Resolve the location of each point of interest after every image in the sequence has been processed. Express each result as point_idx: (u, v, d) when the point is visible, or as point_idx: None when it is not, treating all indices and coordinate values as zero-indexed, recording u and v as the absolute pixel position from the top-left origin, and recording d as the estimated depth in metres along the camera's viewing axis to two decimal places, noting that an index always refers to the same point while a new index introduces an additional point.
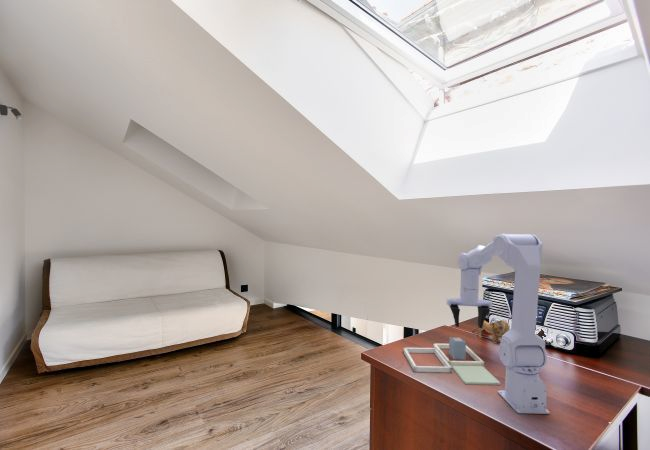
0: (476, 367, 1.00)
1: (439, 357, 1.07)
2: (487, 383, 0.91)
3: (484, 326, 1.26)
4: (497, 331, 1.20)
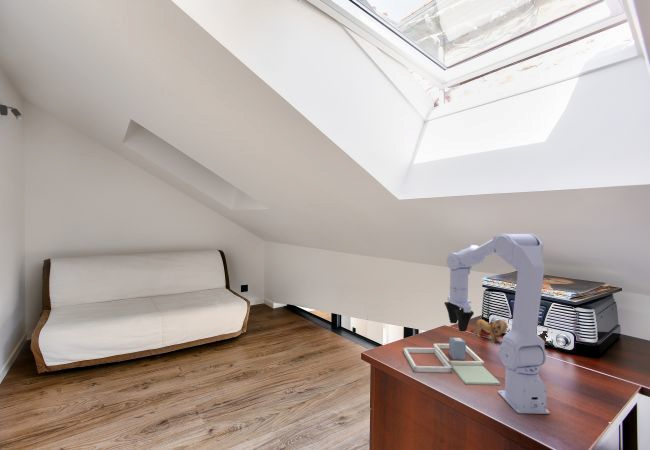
0: (476, 367, 1.00)
1: (439, 357, 1.07)
2: (487, 383, 0.91)
3: (482, 325, 1.26)
4: (496, 330, 1.21)
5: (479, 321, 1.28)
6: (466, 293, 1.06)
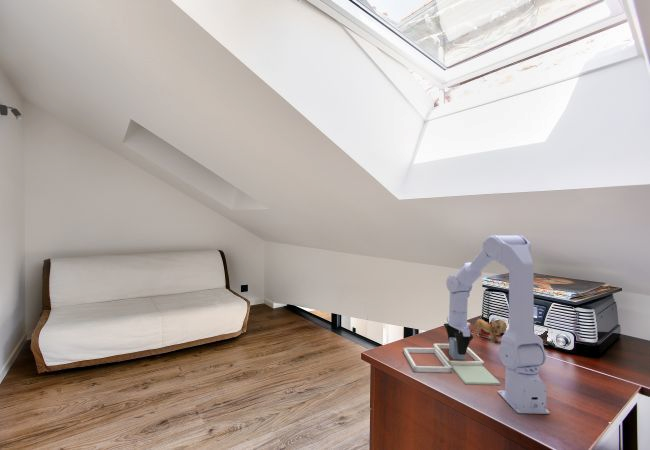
0: (476, 367, 1.00)
1: (439, 357, 1.07)
2: (487, 383, 0.91)
3: (482, 325, 1.27)
4: (495, 330, 1.21)
5: (478, 321, 1.28)
6: (465, 316, 1.06)
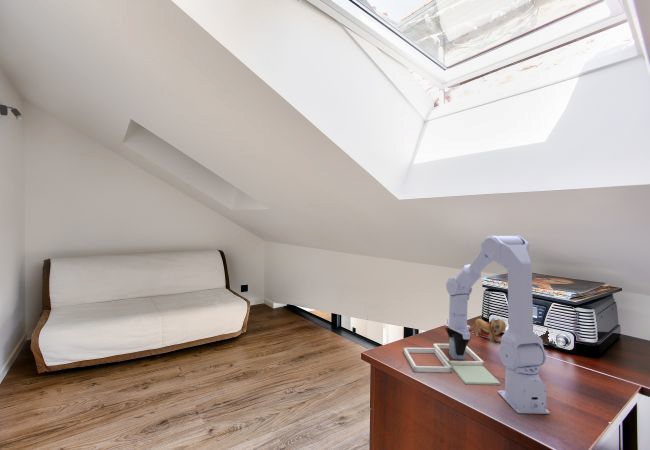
0: (476, 367, 1.00)
1: (439, 357, 1.07)
2: (487, 383, 0.91)
3: (481, 325, 1.27)
4: (494, 330, 1.21)
5: (478, 321, 1.29)
6: (465, 319, 1.06)
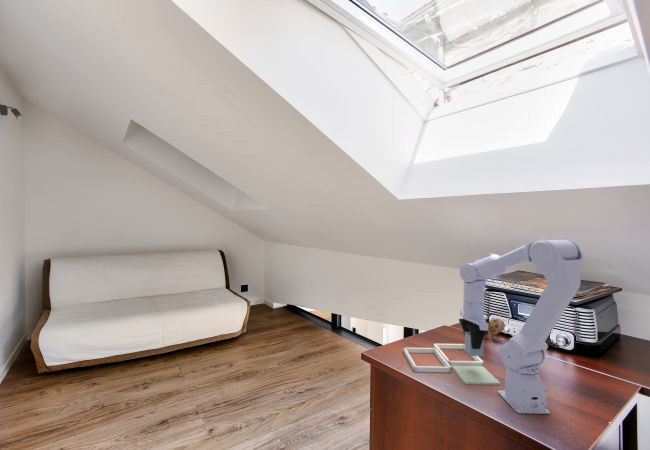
0: (476, 367, 1.00)
1: (439, 357, 1.07)
2: (487, 383, 0.91)
3: None
4: (493, 329, 1.22)
5: None
6: (482, 308, 0.95)
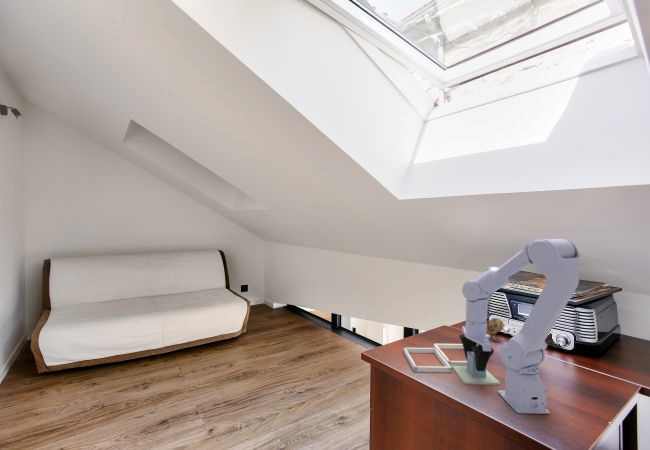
0: None
1: (439, 357, 1.07)
2: (487, 383, 0.91)
3: None
4: (492, 329, 1.22)
5: None
6: (485, 327, 0.93)
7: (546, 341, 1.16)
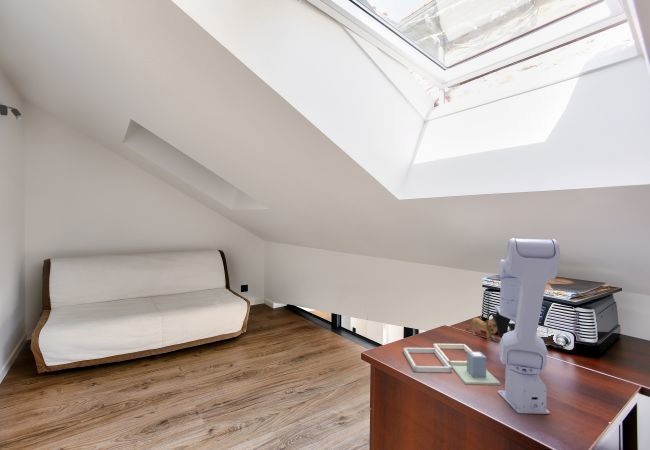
0: None
1: (439, 357, 1.07)
2: (487, 383, 0.91)
3: (478, 324, 1.28)
4: (491, 328, 1.23)
5: (474, 319, 1.30)
6: None
7: (548, 341, 1.16)
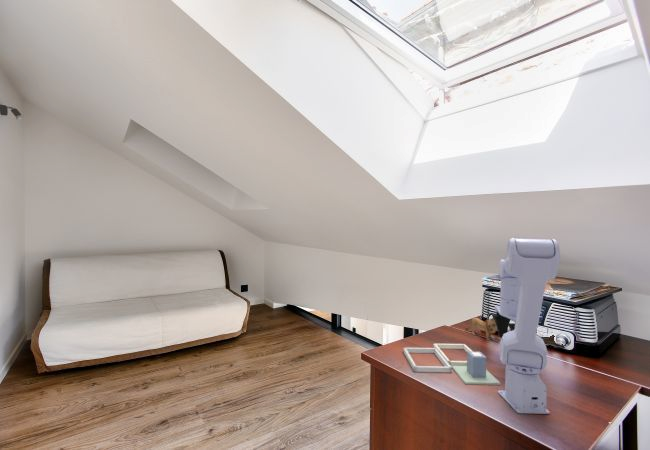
0: None
1: (439, 357, 1.07)
2: (487, 383, 0.91)
3: (477, 324, 1.28)
4: (491, 328, 1.23)
5: (474, 319, 1.30)
6: None
7: (549, 342, 1.15)
